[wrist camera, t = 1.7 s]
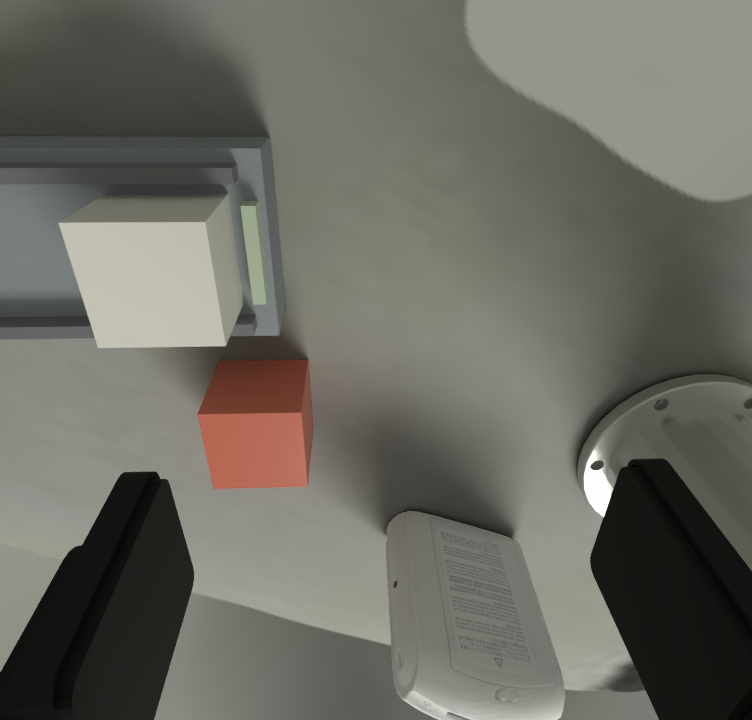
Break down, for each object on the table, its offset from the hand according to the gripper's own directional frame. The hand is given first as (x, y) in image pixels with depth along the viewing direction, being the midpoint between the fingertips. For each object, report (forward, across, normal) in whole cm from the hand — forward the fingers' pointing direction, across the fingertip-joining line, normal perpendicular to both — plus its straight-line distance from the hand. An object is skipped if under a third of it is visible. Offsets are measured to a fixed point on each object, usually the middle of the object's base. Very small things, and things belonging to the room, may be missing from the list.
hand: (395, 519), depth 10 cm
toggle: (+15, +8, 0) cm, 17 cm away
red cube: (+18, +6, +10) cm, 22 cm away
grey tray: (+18, +12, 0) cm, 22 cm away
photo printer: (+18, -6, +23) cm, 30 cm away
